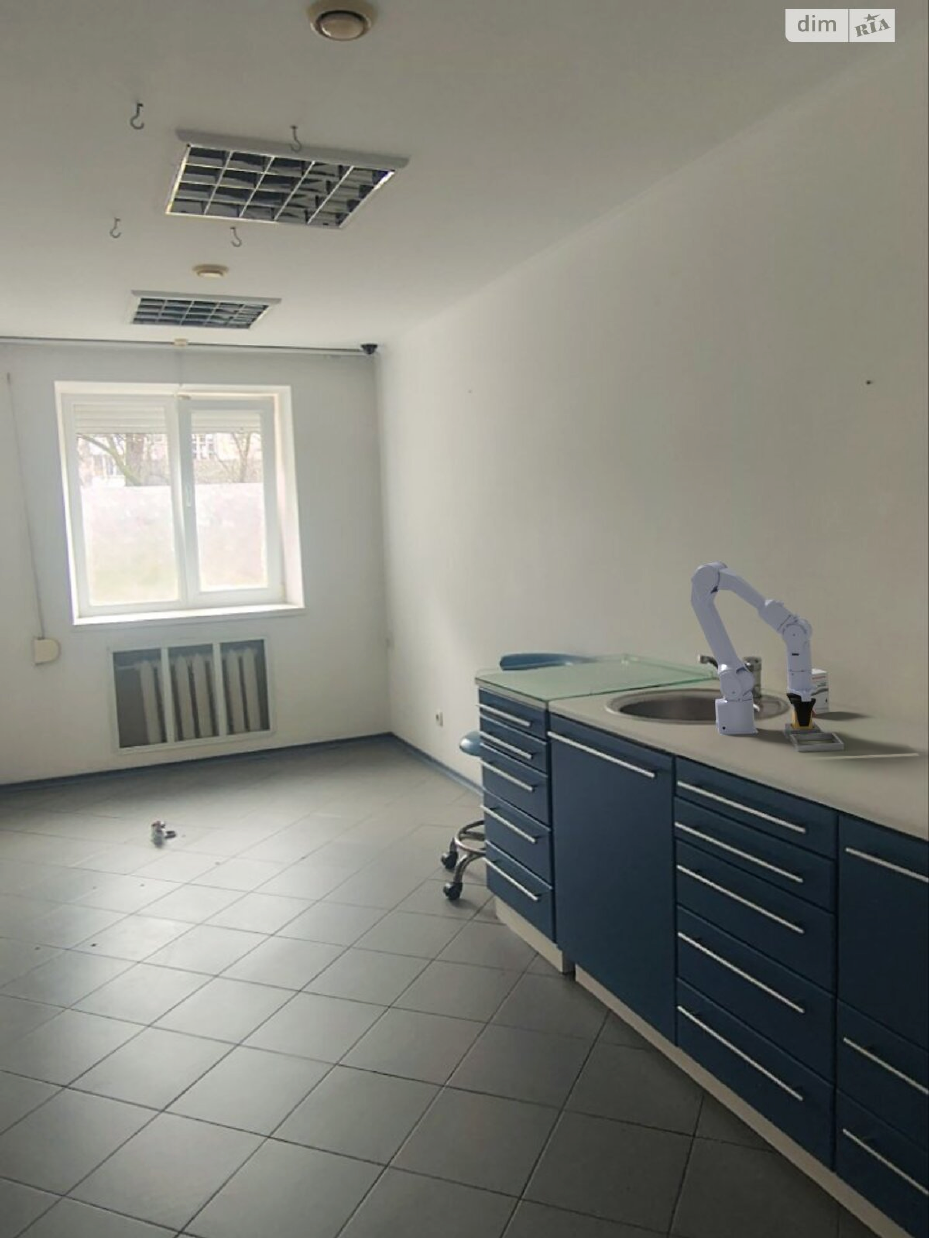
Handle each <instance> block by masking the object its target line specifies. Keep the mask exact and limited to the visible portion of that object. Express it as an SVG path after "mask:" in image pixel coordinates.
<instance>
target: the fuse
mask: <svg viewBox="0 0 929 1238" xmlns="http://www.w3.org/2000/svg"><path fill="white" fill-rule="evenodd" d="M790 705H791V706H790V711H791V723H792V728H793V729H811V728H813V725H812V722H813V715H812V712H811V717H810V723H809V726H804V727H800V726H799V723H798V719H797V714H796V710H795V707H794V705H793V704H791V703H790Z"/></svg>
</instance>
